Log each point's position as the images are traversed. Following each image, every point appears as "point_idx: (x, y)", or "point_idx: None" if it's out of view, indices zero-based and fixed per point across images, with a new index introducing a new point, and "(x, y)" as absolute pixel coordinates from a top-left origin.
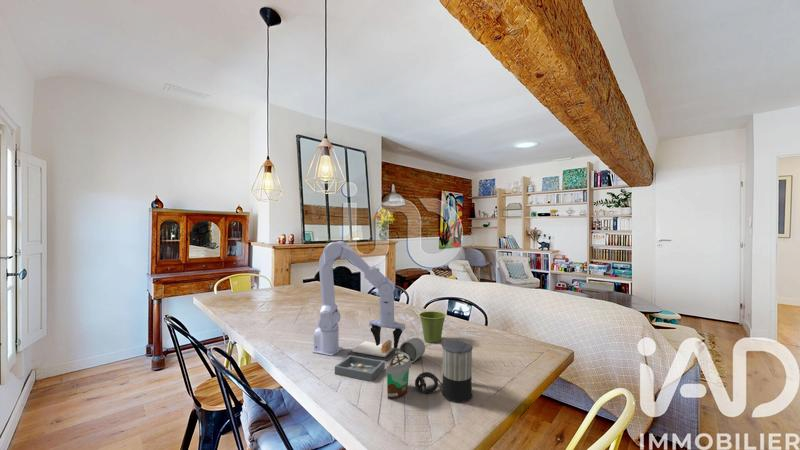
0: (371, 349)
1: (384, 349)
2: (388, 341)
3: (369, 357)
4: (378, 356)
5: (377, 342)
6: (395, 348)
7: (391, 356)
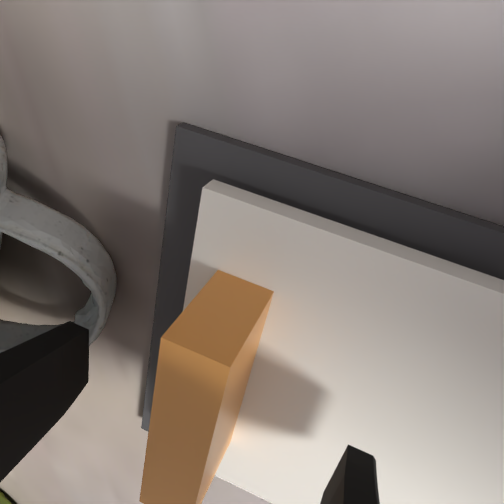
0: (461, 410)
1: (209, 305)
2: (168, 483)
3: (485, 225)
4: None
5: (340, 492)
6: (69, 321)
7: (162, 246)
